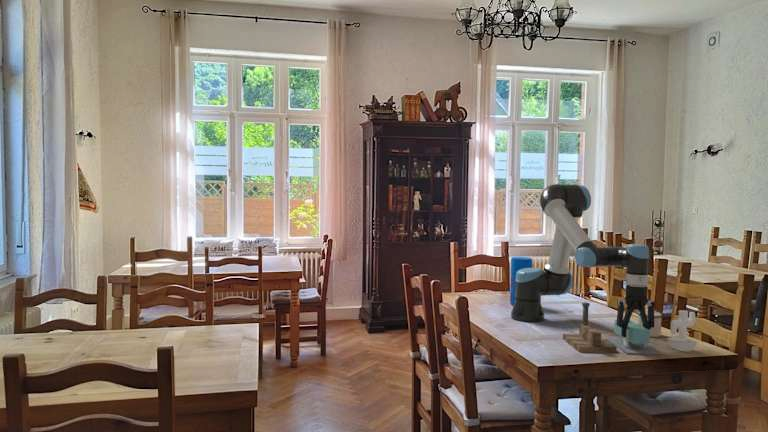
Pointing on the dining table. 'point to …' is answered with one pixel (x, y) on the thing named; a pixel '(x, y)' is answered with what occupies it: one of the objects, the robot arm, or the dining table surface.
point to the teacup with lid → (657, 323)
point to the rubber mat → (632, 347)
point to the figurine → (682, 332)
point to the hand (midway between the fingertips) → (634, 345)
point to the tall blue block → (516, 265)
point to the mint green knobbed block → (635, 333)
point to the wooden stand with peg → (588, 337)
